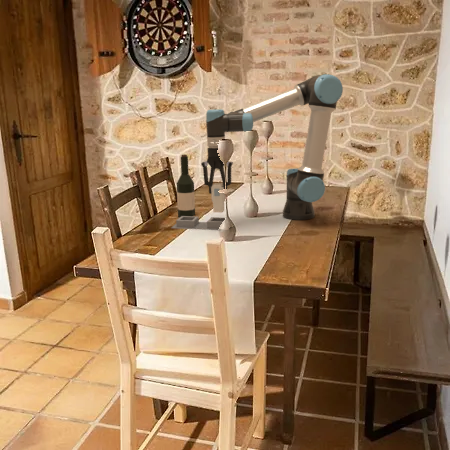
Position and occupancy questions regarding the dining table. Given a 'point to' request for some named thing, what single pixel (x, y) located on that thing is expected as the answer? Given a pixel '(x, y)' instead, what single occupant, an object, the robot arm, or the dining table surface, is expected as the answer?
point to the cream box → (217, 198)
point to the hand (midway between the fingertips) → (218, 200)
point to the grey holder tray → (198, 223)
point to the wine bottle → (185, 191)
